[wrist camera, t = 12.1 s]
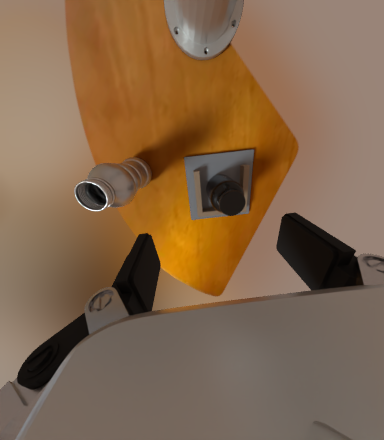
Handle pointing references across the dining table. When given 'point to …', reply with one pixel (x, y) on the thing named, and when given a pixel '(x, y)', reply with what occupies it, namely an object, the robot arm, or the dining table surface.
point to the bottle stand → (210, 166)
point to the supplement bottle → (225, 195)
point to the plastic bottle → (113, 184)
